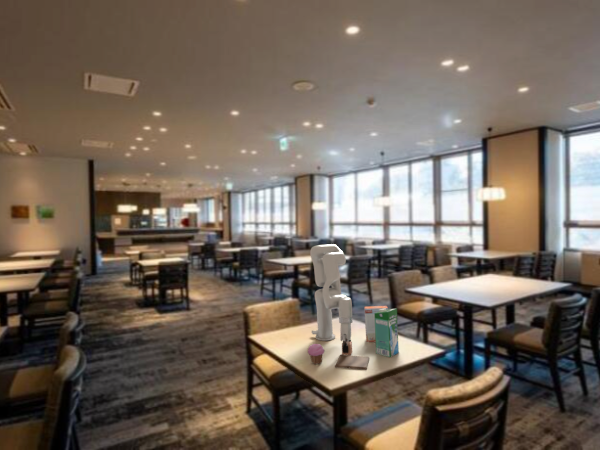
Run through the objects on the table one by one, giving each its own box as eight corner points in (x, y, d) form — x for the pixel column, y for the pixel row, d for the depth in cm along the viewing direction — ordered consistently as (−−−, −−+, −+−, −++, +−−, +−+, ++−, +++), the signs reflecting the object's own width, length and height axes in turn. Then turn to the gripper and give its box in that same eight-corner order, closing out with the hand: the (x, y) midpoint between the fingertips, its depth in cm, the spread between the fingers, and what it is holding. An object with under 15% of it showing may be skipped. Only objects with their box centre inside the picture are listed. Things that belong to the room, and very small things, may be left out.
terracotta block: (342, 354, 202) (341, 344, 202) (343, 351, 206) (343, 341, 206) (351, 355, 200) (350, 344, 200) (352, 352, 205) (351, 341, 205)
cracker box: (388, 338, 224) (386, 305, 224) (389, 342, 218) (388, 307, 218) (365, 338, 226) (364, 305, 225) (366, 342, 220) (365, 308, 219)
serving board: (335, 367, 185) (335, 364, 185) (340, 356, 198) (340, 354, 198) (366, 369, 180) (366, 367, 180) (369, 358, 194) (369, 356, 194)
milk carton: (384, 348, 207) (382, 305, 207) (398, 352, 201) (396, 308, 200) (376, 353, 201) (374, 309, 201) (390, 357, 194) (388, 311, 194)
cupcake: (327, 364, 189) (326, 345, 189) (311, 367, 187) (310, 348, 186) (321, 358, 198) (320, 340, 197) (306, 361, 195) (305, 342, 195)
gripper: (341, 315, 212) (343, 343, 213) (336, 323, 196) (337, 354, 196) (354, 315, 210) (355, 344, 211) (350, 324, 194) (351, 355, 194)
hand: (347, 349), depth 203 cm, fingers open, 9 cm apart
